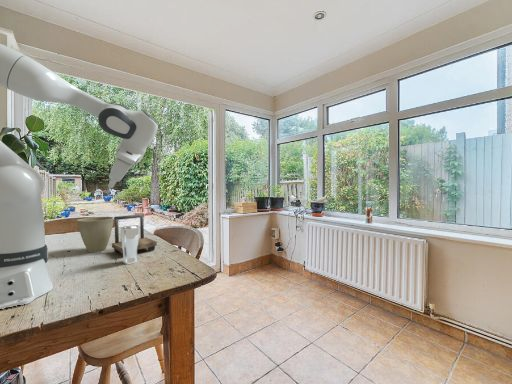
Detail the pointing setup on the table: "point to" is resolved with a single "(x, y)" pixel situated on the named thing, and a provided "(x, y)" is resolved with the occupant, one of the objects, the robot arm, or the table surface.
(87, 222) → the plant pot
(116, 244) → the dolly
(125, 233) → the beer glass
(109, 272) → the table surface
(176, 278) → the table surface
